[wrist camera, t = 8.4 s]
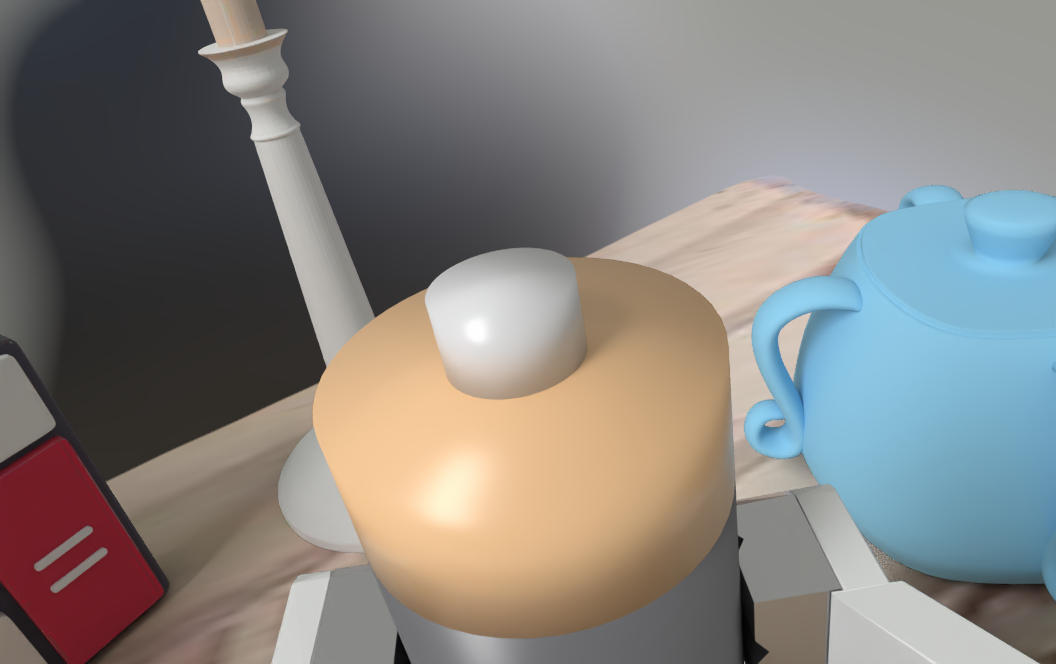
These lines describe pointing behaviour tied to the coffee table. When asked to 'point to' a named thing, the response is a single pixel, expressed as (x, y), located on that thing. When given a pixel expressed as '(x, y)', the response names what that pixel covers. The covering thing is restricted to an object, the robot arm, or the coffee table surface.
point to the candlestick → (295, 247)
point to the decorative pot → (930, 384)
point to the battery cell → (543, 464)
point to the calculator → (60, 534)
